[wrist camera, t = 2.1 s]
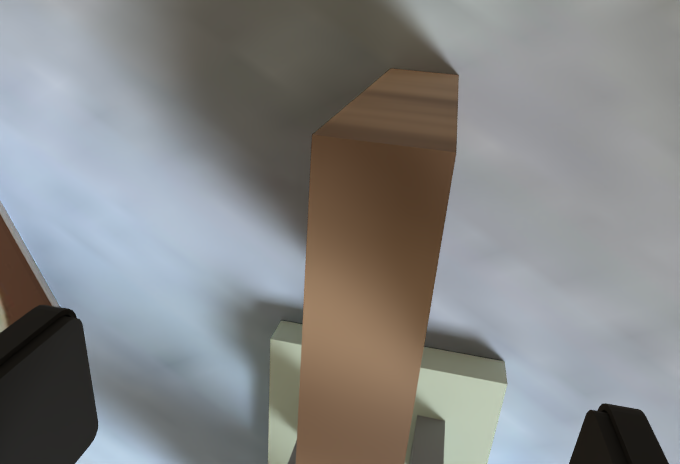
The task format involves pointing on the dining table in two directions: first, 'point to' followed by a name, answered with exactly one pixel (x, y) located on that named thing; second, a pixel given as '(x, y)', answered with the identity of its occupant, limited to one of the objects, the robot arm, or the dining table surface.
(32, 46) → the dining table surface
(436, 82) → the wooden block
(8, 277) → the food container
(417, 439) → the hinge base
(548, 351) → the dining table surface
